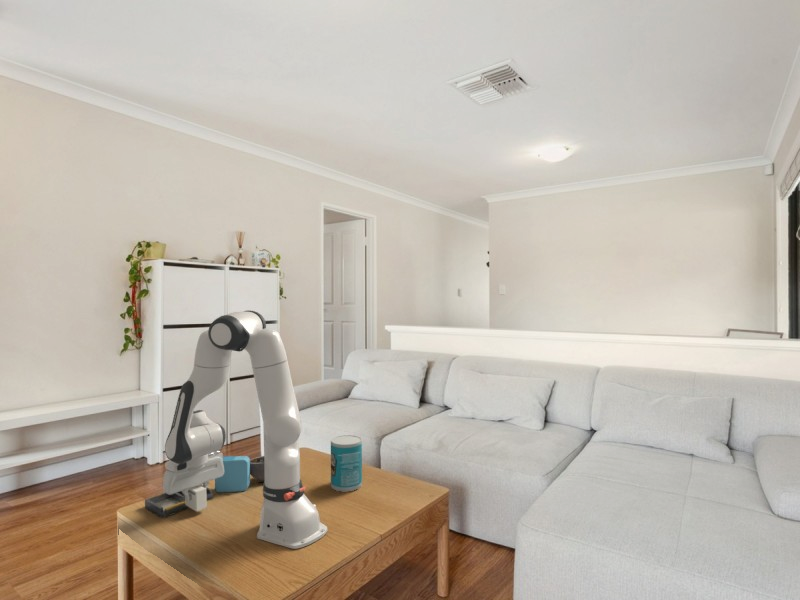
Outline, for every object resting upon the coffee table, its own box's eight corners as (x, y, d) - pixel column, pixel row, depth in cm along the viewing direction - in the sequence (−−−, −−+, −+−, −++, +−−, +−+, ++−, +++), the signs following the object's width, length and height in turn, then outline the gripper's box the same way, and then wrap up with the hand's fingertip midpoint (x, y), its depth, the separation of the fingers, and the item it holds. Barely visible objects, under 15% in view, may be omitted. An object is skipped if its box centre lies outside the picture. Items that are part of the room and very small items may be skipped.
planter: (243, 485, 178) (242, 434, 178) (267, 469, 194) (267, 422, 194) (276, 489, 174) (276, 437, 173) (298, 473, 190) (298, 425, 189)
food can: (325, 489, 174) (324, 442, 174) (340, 477, 185) (340, 433, 185) (352, 494, 169) (352, 446, 169) (367, 482, 180) (367, 436, 180)
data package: (250, 486, 177) (250, 455, 177) (247, 491, 173) (247, 459, 172) (218, 487, 176) (218, 456, 176) (214, 492, 171) (214, 461, 171)
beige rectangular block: (207, 507, 156) (206, 488, 156) (196, 511, 153) (196, 492, 153) (195, 501, 161) (194, 482, 161) (185, 505, 158) (184, 486, 158)
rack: (213, 498, 166) (213, 482, 166) (162, 518, 152) (161, 500, 152) (195, 490, 174) (195, 474, 174) (145, 508, 159) (144, 491, 159)
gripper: (217, 447, 167) (219, 485, 167) (159, 464, 151) (161, 506, 151) (227, 450, 163) (228, 489, 163) (168, 469, 147) (170, 511, 147)
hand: (195, 497), depth 157 cm, fingers closed on beige rectangular block, 3 cm apart
